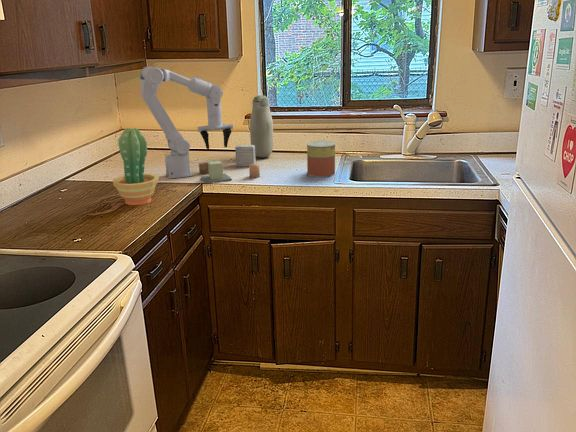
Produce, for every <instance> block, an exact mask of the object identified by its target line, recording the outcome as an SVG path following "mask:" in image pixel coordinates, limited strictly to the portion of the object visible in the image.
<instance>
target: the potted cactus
mask: <svg viewBox="0 0 576 432" xmlns="http://www.w3.org/2000/svg"><path fill="white" fill-rule="evenodd" d="M117 141H118V150H119V153H120V154H119V155H120V156H121V159H122V161H123V174H124V175H121V176H118V177H116V178H114V179H113V180H112V184H113V187H114V188H116V189H117V191H118V194H119V195H120V196H121V198H122V199H123V200H124V202H125V203H124V204H125V205H129V206H140V205H142V206H143V205H146V204H149V203H151V202H152V196H153V195H154V193H155V190H156V186H157V184H158V183H159V175H157V174H152V173H145V166H146V165H145V164H146V163H145V161H146V158H147V154H148V140H147V139H146V138H145V136H144V134H143V133H142V132H141V130H140V129H138V128H137V127H135V128H131V127H128V128H124V130H123V131H122V133H121V134H120V136H119V138H118V140H117Z"/></svg>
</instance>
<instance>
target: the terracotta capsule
mask: <svg viewBox="0 0 576 432" xmlns="http://www.w3.org/2000/svg"><path fill="white" fill-rule="evenodd" d="M248 170H249V178H251V179H258V178H260V177H261V176H260V175H261V174H260V164H259V163H253V164H249V166H248Z"/></svg>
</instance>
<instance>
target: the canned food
mask: <svg viewBox="0 0 576 432" xmlns="http://www.w3.org/2000/svg"><path fill="white" fill-rule="evenodd" d="M306 153H307V154H306V156H307V157H306V158H307V161H306V162H307V165H306V167H307V170H306V171H307V172H306V175H308V176H311V177H316V178H317V177H318V178H319V177H320V178H321V177H322V178H323V177H325V178H326V177H332V176H333V175H336V143H335V142H333V141H328V140H327V141H326V140H321V141H320V140H317V141H310V142H307V143H306Z"/></svg>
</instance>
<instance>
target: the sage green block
mask: <svg viewBox="0 0 576 432" xmlns="http://www.w3.org/2000/svg"><path fill="white" fill-rule="evenodd" d="M207 162H208V169H209V174H208V176H209V177H210V178H211V179H220V178H223V174H224V170H223V162H222V161H220V160H214V161H207Z"/></svg>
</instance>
